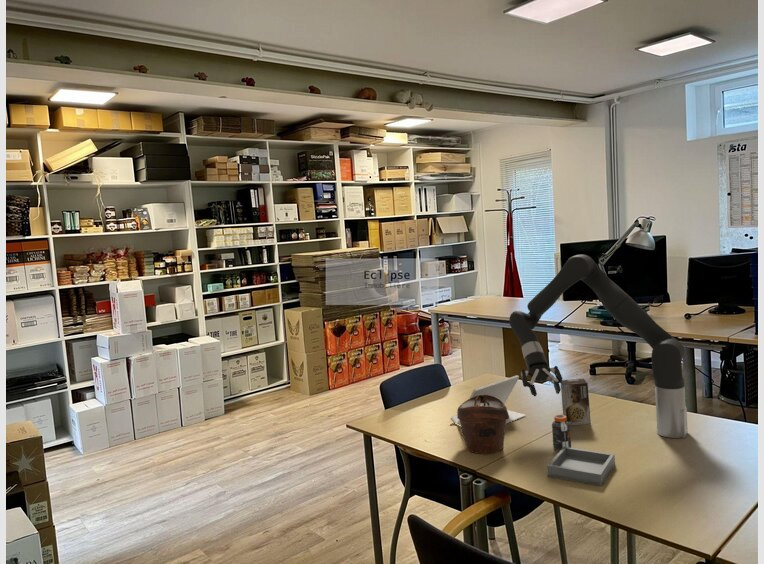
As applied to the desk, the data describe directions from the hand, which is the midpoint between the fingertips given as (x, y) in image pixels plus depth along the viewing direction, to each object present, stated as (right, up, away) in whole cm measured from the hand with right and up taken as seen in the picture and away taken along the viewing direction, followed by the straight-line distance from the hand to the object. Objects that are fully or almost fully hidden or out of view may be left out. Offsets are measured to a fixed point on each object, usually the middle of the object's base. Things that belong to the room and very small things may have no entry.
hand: (547, 394), depth 208 cm
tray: (+3, -18, -29) cm, 34 cm away
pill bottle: (+2, -17, -10) cm, 20 cm away
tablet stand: (-17, -16, +24) cm, 33 cm away
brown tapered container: (-23, -18, -3) cm, 30 cm away
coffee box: (+15, -13, +13) cm, 24 cm away
